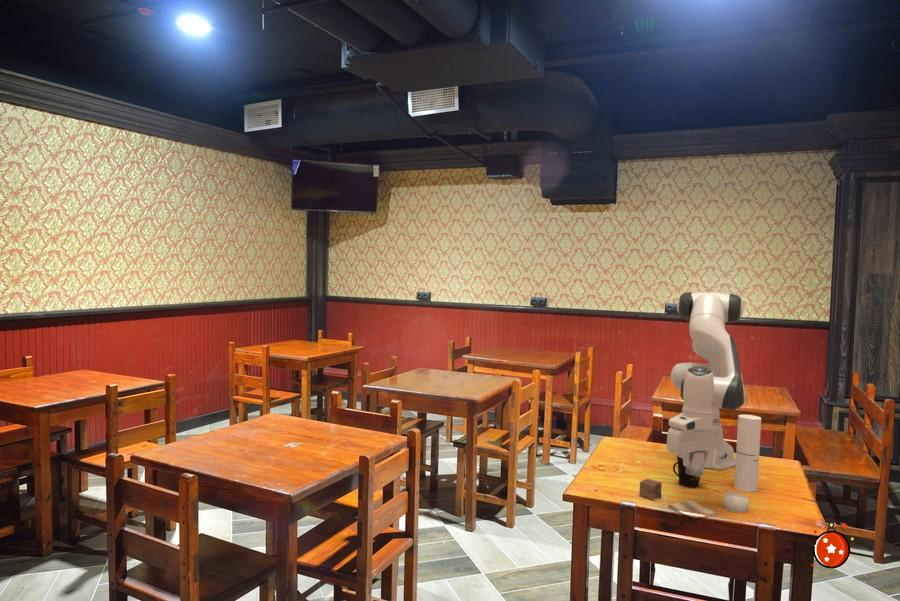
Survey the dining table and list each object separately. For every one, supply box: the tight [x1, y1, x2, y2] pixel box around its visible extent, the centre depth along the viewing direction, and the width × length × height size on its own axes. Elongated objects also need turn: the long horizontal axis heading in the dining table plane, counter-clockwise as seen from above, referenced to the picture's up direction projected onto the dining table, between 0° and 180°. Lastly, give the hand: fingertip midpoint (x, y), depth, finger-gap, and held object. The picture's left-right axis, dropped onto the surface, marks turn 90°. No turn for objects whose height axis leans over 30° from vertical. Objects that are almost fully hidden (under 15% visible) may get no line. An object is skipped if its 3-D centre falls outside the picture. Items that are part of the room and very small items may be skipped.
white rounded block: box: [722, 491, 749, 514], centre depth 191 cm, size 7×7×4 cm
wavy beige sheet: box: [667, 500, 718, 516], centre depth 187 cm, size 10×10×1 cm
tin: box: [686, 451, 704, 477], centre depth 187 cm, size 5×5×7 cm
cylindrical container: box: [733, 414, 762, 493], centre depth 209 cm, size 7×7×25 cm
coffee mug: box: [672, 454, 701, 489], centre depth 211 cm, size 12×9×10 cm
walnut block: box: [638, 478, 663, 501], centre depth 198 cm, size 5×5×5 cm
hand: (694, 465), depth 187 cm, fingers closed on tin, 5 cm apart
